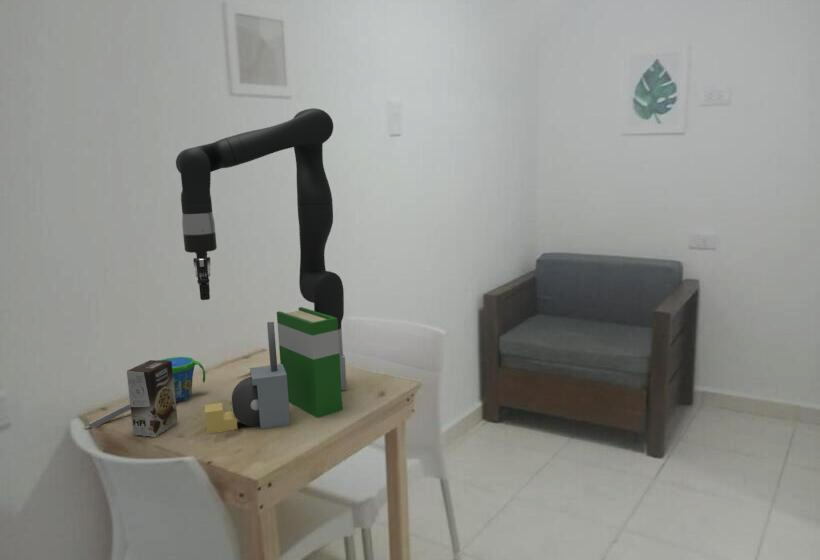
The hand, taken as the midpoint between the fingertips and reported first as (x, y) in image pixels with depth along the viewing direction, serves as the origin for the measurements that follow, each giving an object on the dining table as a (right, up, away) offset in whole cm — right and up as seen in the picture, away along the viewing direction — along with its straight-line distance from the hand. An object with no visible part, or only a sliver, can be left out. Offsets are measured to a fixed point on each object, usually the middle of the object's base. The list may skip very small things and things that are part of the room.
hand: (205, 296), depth 165 cm
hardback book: (+25, -29, +8) cm, 39 cm away
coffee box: (-10, -32, -5) cm, 34 cm away
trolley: (+15, -31, -3) cm, 34 cm away
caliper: (-21, -31, +4) cm, 38 cm away
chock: (+6, -32, -5) cm, 33 cm away
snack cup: (-13, -28, +16) cm, 35 cm away
